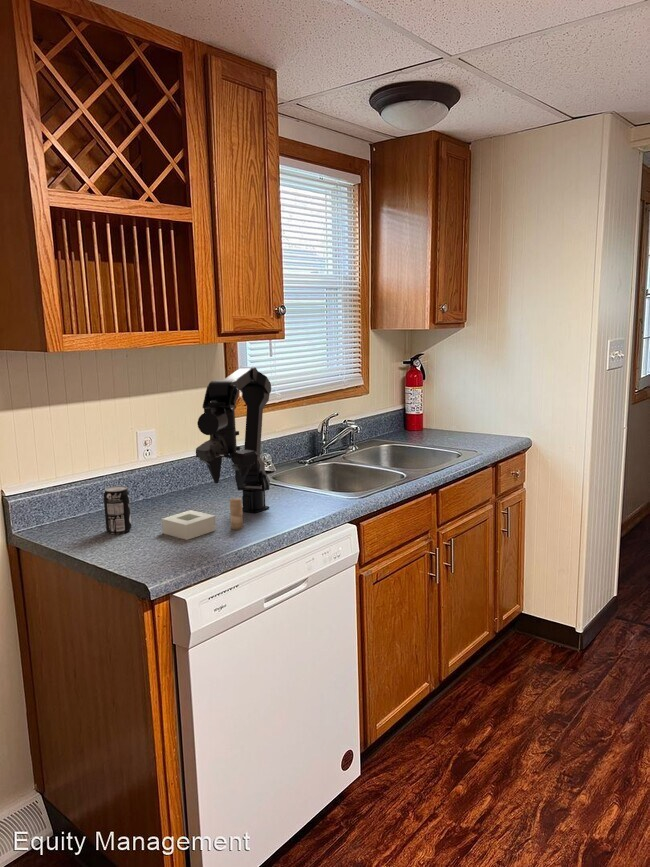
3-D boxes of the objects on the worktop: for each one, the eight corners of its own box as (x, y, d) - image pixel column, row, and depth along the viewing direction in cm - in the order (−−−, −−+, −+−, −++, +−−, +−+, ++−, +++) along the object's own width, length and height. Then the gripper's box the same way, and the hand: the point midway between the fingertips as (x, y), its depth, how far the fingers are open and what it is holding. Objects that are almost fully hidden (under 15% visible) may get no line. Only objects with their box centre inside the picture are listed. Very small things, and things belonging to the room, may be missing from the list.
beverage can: (122, 526, 186) (119, 484, 184) (136, 530, 181) (133, 487, 179) (101, 532, 181) (98, 489, 179) (115, 536, 176) (112, 492, 174)
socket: (191, 523, 186) (190, 510, 185) (216, 530, 180) (215, 515, 179) (162, 533, 178) (161, 518, 178) (187, 539, 172) (186, 525, 171)
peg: (237, 525, 183) (235, 497, 182) (245, 527, 181) (244, 499, 180) (228, 528, 181) (227, 500, 180) (237, 530, 179) (235, 501, 178)
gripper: (177, 429, 176) (181, 487, 179) (225, 436, 164) (228, 497, 167) (210, 423, 184) (213, 478, 187) (257, 429, 172) (260, 488, 175)
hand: (227, 485), depth 179 cm, fingers open, 9 cm apart
